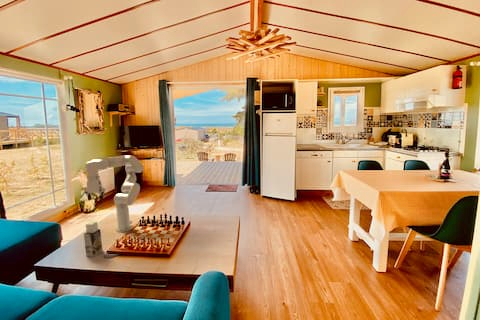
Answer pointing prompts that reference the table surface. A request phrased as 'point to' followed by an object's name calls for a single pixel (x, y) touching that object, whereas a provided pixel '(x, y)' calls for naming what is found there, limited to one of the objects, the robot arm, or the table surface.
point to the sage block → (91, 227)
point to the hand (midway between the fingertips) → (95, 200)
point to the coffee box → (93, 243)
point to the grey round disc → (110, 255)
